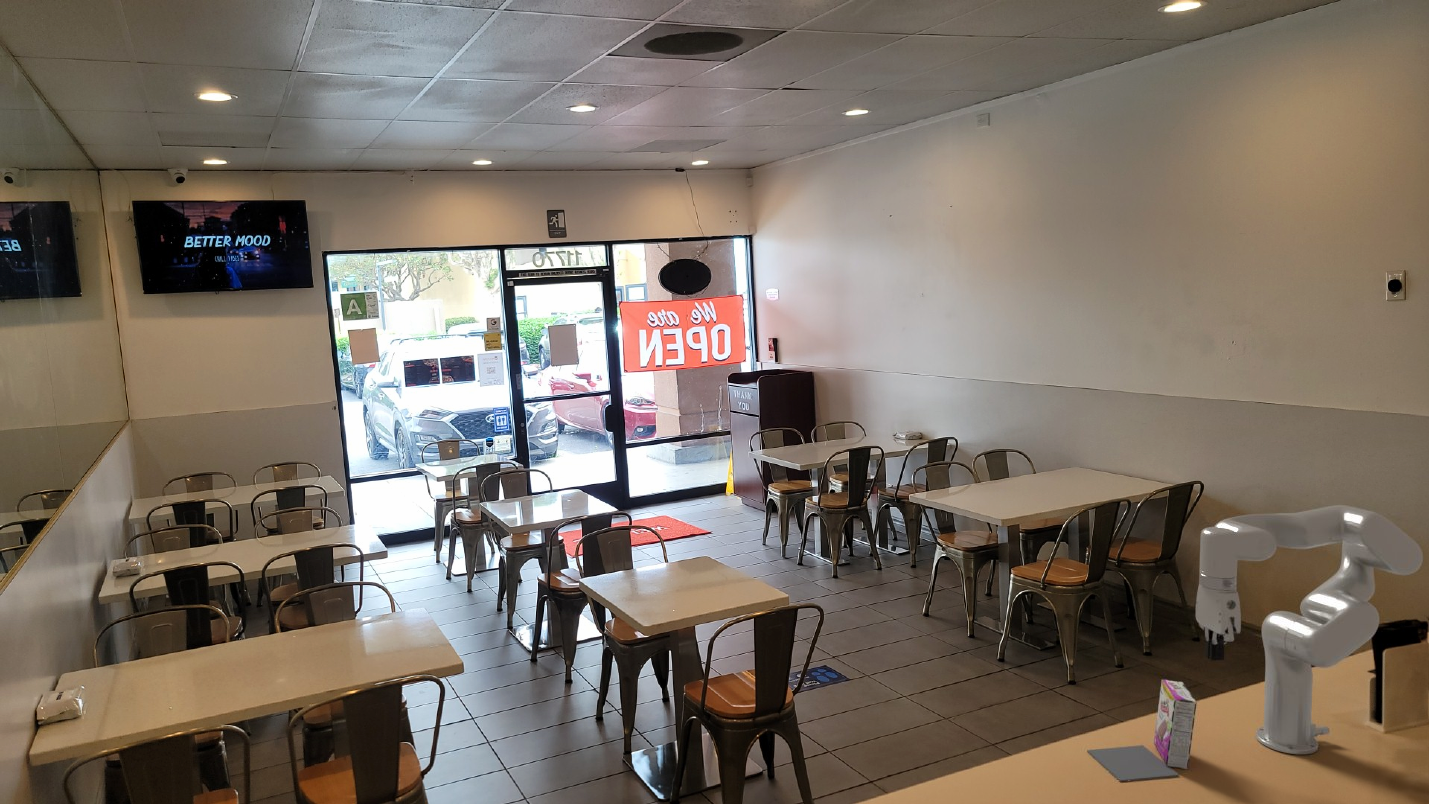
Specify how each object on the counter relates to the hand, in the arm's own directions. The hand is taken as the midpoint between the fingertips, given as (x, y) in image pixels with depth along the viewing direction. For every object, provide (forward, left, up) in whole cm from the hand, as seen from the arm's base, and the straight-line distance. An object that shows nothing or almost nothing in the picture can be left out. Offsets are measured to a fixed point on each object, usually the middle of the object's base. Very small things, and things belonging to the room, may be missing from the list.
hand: (1215, 658), depth 211 cm
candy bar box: (+11, 0, -23) cm, 25 cm away
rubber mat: (+21, +1, -23) cm, 31 cm away
